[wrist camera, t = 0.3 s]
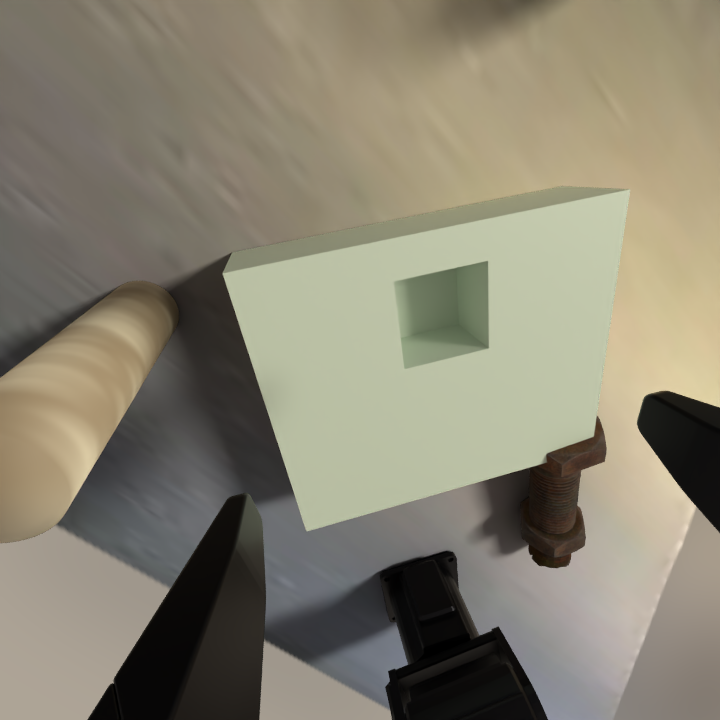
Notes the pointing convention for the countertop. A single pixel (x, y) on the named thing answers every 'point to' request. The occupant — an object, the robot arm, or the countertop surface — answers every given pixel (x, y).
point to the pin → (74, 403)
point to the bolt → (559, 501)
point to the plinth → (431, 345)
